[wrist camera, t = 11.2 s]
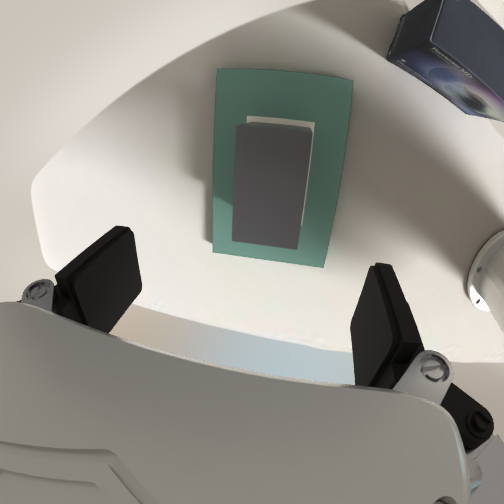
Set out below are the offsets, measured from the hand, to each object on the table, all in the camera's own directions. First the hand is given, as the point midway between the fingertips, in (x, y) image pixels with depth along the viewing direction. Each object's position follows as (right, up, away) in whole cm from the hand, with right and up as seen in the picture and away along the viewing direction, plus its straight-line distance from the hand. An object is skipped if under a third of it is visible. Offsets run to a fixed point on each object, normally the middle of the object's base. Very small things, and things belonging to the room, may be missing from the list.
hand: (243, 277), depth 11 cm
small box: (+18, +19, +7) cm, 28 cm away
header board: (+3, +9, +16) cm, 19 cm away
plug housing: (+3, +8, +15) cm, 17 cm away
